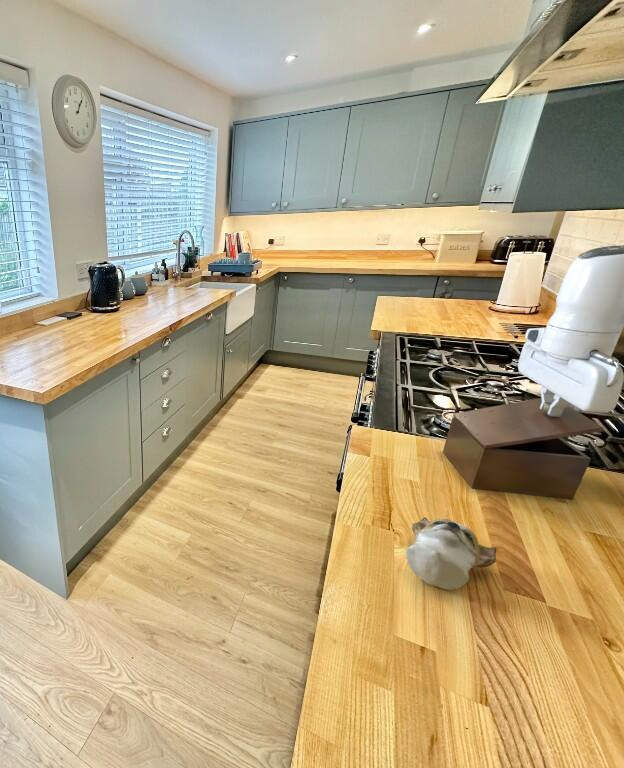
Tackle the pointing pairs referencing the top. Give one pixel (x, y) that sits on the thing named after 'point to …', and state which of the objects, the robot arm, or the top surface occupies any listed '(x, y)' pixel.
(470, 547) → the ceramic sculpture
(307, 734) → the top surface
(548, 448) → the keepsake box
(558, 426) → the box lid
